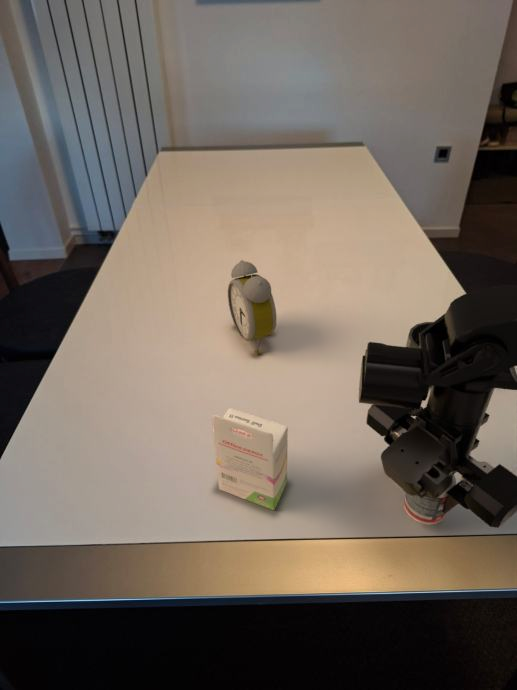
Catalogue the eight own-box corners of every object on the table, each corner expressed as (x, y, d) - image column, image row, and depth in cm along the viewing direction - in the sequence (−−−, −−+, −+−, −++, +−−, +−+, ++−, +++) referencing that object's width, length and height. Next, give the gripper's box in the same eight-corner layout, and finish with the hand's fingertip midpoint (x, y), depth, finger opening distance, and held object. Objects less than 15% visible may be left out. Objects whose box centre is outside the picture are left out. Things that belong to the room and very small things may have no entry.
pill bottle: (438, 533, 61) (454, 489, 55) (397, 513, 63) (409, 469, 57) (450, 501, 64) (466, 456, 59) (410, 483, 66) (423, 439, 61)
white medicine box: (288, 483, 69) (291, 408, 60) (274, 512, 65) (275, 437, 56) (233, 463, 72) (227, 388, 63) (216, 489, 68) (208, 414, 59)
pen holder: (460, 360, 89) (470, 329, 85) (453, 393, 82) (463, 361, 78) (408, 347, 92) (415, 317, 88) (397, 378, 86) (403, 346, 81)
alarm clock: (228, 326, 99) (224, 259, 89) (260, 318, 101) (259, 251, 91) (251, 360, 90) (249, 289, 81) (285, 350, 92) (286, 280, 83)
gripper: (339, 389, 55) (329, 476, 64) (486, 508, 43) (447, 594, 52) (407, 351, 60) (389, 438, 69) (557, 449, 48) (509, 537, 57)
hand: (427, 495), depth 62 cm, fingers closed on pill bottle, 5 cm apart
